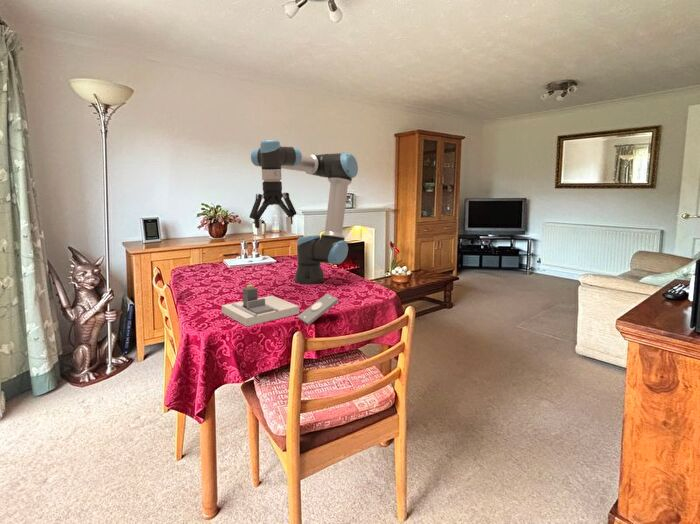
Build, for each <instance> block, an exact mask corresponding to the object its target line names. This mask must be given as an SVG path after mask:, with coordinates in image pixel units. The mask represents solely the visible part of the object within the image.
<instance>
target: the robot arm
mask: <svg viewBox="0 0 700 524" xmlns="http://www.w3.org/2000/svg"><path fill="white" fill-rule="evenodd" d="M250 160H251V163H252V165H254V166H255V167H260V168H261V180H262V192H263V193H262V194H261V193H256V194H255V200H254V203H253V205H252V209H251V211H250V214H249V218H250V219H253V220H254V228H255V229H256V233H257V237H263V223H262V219H261V218H262V216H263V214H264V212H265V211H266V209H267V208H268V207H269V206H273V205H278V207H280V208H281V210H282V211H283V212H284V213H285V214H286V216H285V227H286V229H285V231H286V233H289V234H292V233H293V232H292V225H293V222H294V221H293V218H294V216H296V215H297V211H296V209H295V207H294V204H293V203H292V201H291V198H290V193H289V192H283V191H282V190H283V184H282V183H283V182H282V181H281V180H282V169H284V170H292V171H296V172H297V171H298V172H305V174H308V175H310V176H311V175H312V176H317V177H321V178H327V181H328V182H329V184H330V186H329V193H328V201H327V202H328V203H327V210H326V217H325V218H326V220H325V227H324V232H323V233H321V235H317V234H315V235H307V236H300V237H299V238H297V242H296V249H297V250H296V251H297V252H296V253H297V254H296V255H297V268H296V271H295V274H294V282H295V283H298V284H304V285H305V284H307V285H308V284H311V285H312V284H318V283H322V282H324V281H325V275H324V272H323V268H322V266H321V263H322V264H323V263H325V264H330V265H340V264H342V263H343V262H344V261H345V259H346V258H347V256H348V254H349V253H348V252H349V246H348V243H347V242H346V241H345V239H346V237H345V236H344V235H343V230H344V222H345V213H346V203H347V198H348V197H347V196H348V188H349V185H350V184H352V181H353V179H354V178H355V177H357V175H358V171H359V166H358V162H357V159H356V157H355V156H354V154H352V153H348V152H346V153H345V152H340V153H324V154H311V153H310V154H307V155H305V154H302V152H301V150H300V149H299V148H297V147H294V146H281V142H280V141H279V140H277V139H263V140H261V141H260V147H259V148H258V147H257V148H255V149H253V150H252V151H251V153H250ZM262 200H263V202H262ZM283 200H284V201H283ZM261 203H262V204H261ZM260 205H261V206H260Z"/></svg>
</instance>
